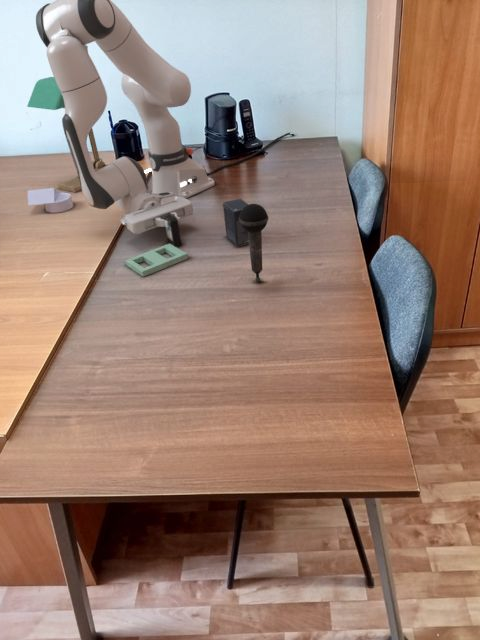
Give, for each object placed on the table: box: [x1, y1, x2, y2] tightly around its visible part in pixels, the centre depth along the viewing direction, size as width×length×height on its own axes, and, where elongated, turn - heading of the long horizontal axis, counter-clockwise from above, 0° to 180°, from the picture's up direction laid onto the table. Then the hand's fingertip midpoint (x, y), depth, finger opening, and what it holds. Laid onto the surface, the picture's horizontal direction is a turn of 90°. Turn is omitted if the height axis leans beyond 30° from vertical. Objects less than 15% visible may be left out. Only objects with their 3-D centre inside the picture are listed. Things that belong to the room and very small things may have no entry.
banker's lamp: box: [26, 76, 108, 193], centre depth 187 cm, size 16×21×35 cm
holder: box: [125, 243, 189, 277], centre depth 143 cm, size 14×9×2 cm, turn 130°
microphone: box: [239, 203, 269, 283], centre depth 126 cm, size 7×7×20 cm
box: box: [222, 198, 249, 248], centre depth 148 cm, size 8×6×11 cm
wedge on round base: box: [27, 187, 74, 214], centre depth 177 cm, size 9×7×13 cm
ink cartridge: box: [163, 215, 182, 247], centre depth 149 cm, size 5×2×8 cm, turn 34°
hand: (174, 223), depth 148 cm, fingers closed on ink cartridge
